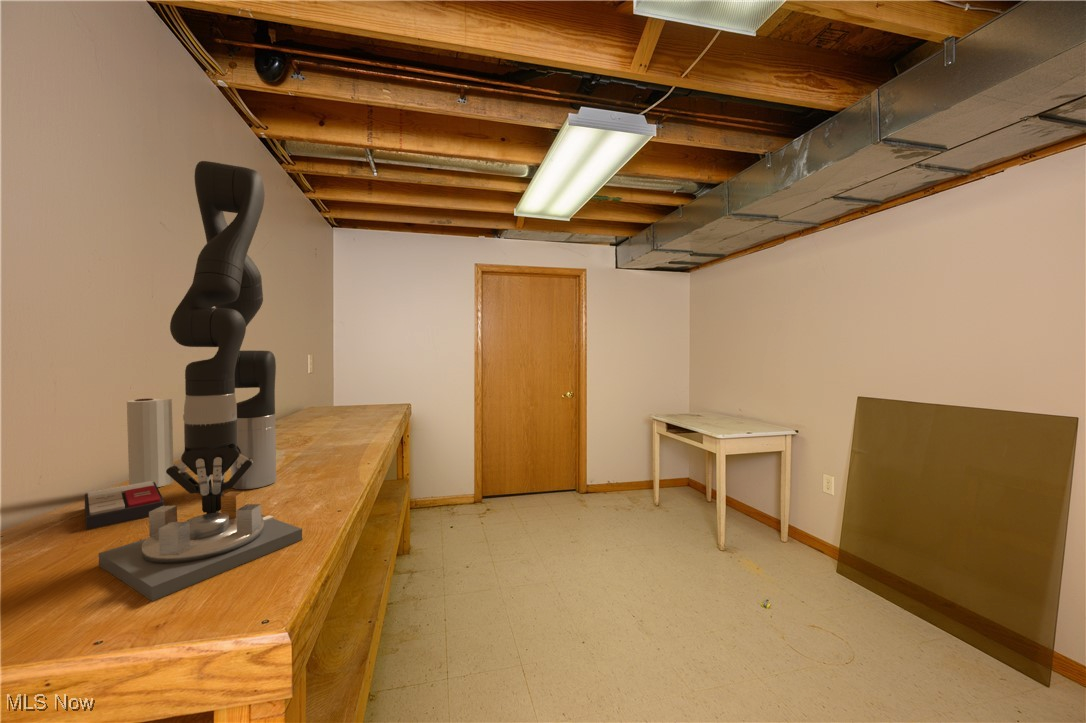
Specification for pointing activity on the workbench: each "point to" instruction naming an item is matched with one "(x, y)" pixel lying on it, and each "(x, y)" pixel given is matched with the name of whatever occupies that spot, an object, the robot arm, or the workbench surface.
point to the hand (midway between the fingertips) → (212, 513)
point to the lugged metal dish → (202, 531)
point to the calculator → (121, 504)
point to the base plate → (175, 576)
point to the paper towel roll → (150, 441)
